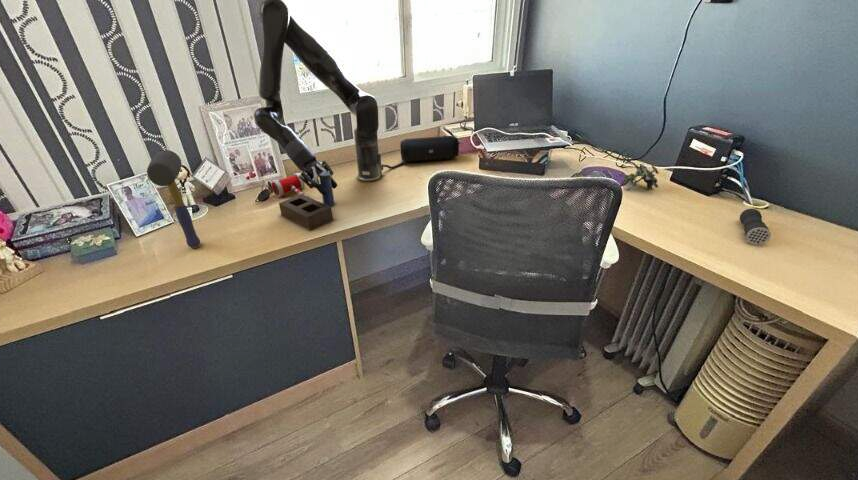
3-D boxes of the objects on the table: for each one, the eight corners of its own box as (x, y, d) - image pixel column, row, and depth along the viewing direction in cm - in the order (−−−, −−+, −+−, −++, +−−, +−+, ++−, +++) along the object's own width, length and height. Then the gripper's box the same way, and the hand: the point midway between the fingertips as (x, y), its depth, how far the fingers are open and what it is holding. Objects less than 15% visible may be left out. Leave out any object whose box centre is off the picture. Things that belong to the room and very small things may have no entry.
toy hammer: (330, 201, 159) (327, 185, 155) (303, 211, 152) (300, 195, 149) (297, 185, 172) (295, 170, 169) (272, 194, 166) (269, 179, 162)
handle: (330, 201, 159) (325, 171, 152) (336, 204, 156) (332, 173, 149) (321, 205, 156) (316, 174, 149) (328, 207, 154) (323, 176, 147)
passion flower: (643, 202, 160) (668, 184, 149) (619, 200, 157) (643, 182, 146) (635, 177, 164) (660, 158, 153) (612, 175, 161) (635, 155, 150)
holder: (304, 206, 156) (301, 193, 153) (333, 220, 146) (331, 207, 143) (281, 215, 150) (278, 202, 147) (310, 230, 140) (307, 217, 137)
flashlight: (735, 220, 135) (743, 205, 131) (755, 223, 133) (763, 208, 129) (743, 242, 124) (751, 226, 120) (765, 246, 122) (774, 230, 118)
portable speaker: (402, 165, 187) (402, 143, 181) (400, 158, 194) (399, 136, 189) (458, 161, 188) (459, 139, 182) (454, 154, 196) (455, 132, 190)
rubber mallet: (204, 254, 130) (169, 160, 113) (179, 258, 129) (140, 163, 111) (209, 235, 140) (178, 146, 122) (186, 239, 139) (150, 149, 121)
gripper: (290, 153, 142) (323, 192, 144) (316, 141, 152) (347, 177, 154) (282, 166, 148) (314, 203, 150) (308, 154, 158) (337, 188, 160)
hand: (330, 190), depth 152 cm, fingers open, 5 cm apart
